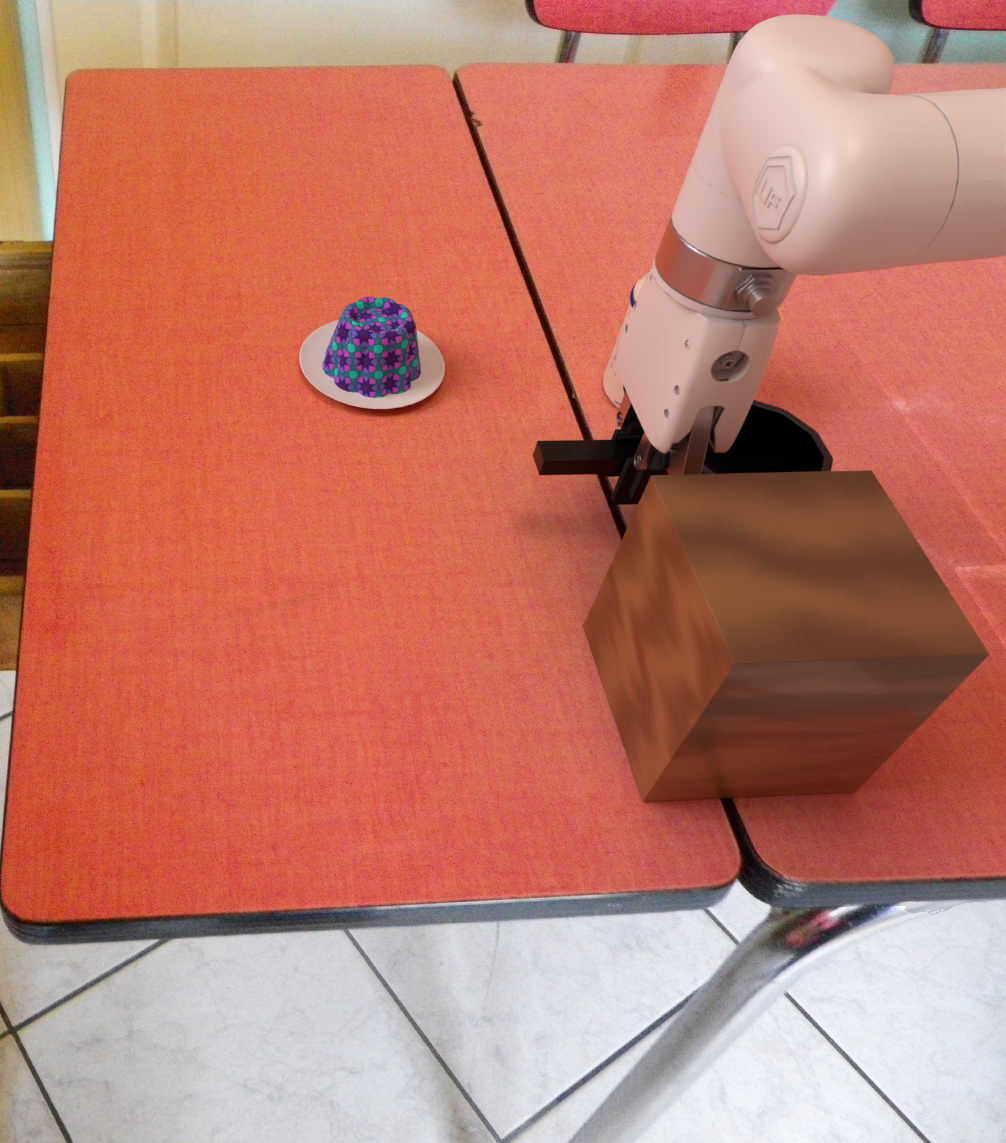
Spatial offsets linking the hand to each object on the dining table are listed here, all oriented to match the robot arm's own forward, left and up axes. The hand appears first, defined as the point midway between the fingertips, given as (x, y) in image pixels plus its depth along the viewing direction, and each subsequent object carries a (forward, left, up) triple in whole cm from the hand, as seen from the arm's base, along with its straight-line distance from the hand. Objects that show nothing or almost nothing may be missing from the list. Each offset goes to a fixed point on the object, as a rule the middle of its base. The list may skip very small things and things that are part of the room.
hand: (627, 485), depth 73 cm
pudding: (+23, -4, -4) cm, 24 cm away
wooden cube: (-12, +11, -4) cm, 16 cm away
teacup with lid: (+4, -17, -4) cm, 18 cm away
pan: (-2, -2, -1) cm, 3 cm away
